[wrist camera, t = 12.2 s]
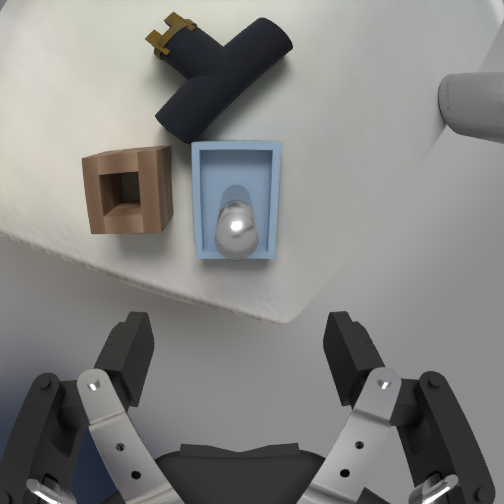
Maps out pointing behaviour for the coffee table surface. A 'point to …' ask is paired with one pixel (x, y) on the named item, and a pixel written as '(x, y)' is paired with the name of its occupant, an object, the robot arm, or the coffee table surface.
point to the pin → (236, 224)
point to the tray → (235, 173)
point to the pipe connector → (212, 69)
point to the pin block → (111, 195)
